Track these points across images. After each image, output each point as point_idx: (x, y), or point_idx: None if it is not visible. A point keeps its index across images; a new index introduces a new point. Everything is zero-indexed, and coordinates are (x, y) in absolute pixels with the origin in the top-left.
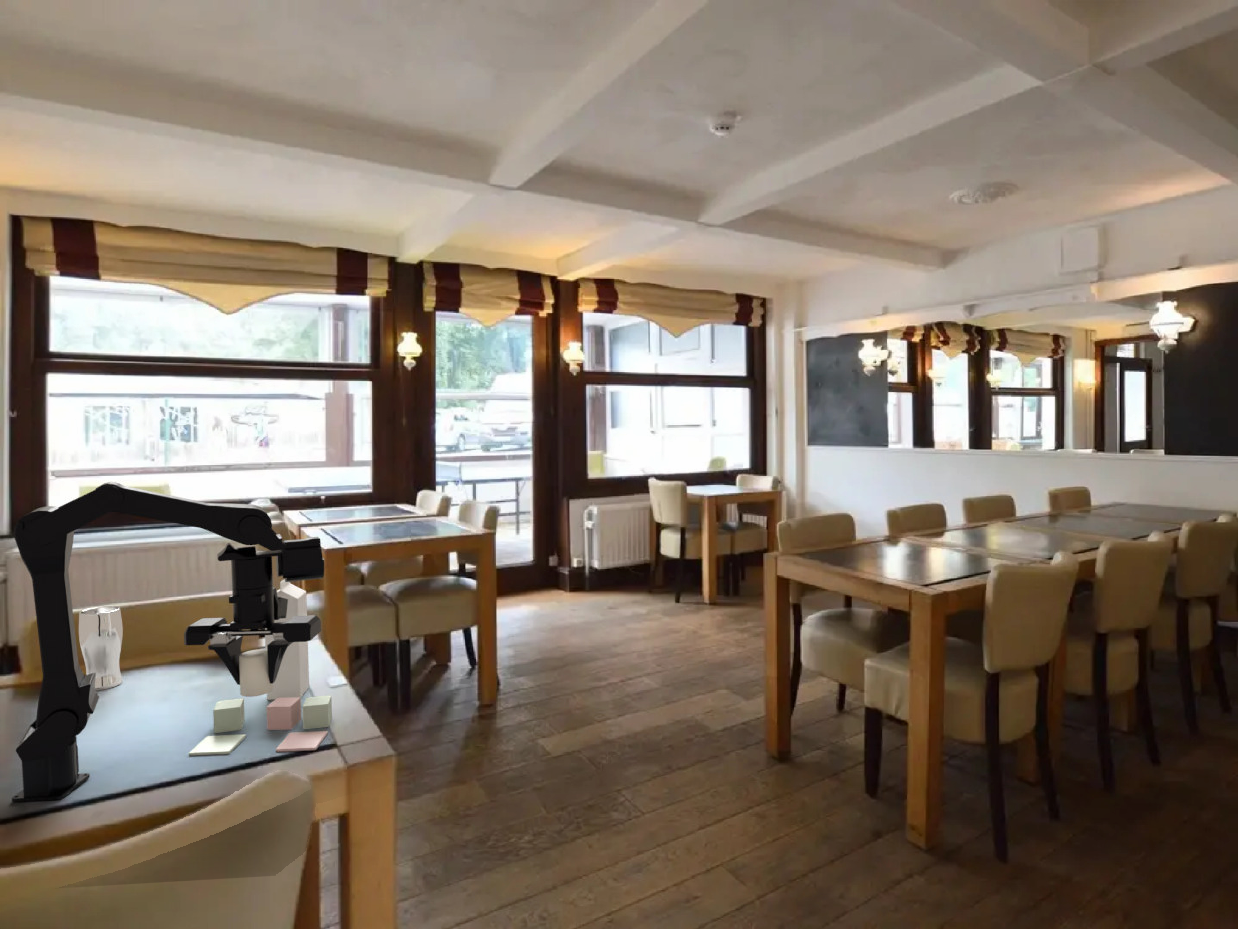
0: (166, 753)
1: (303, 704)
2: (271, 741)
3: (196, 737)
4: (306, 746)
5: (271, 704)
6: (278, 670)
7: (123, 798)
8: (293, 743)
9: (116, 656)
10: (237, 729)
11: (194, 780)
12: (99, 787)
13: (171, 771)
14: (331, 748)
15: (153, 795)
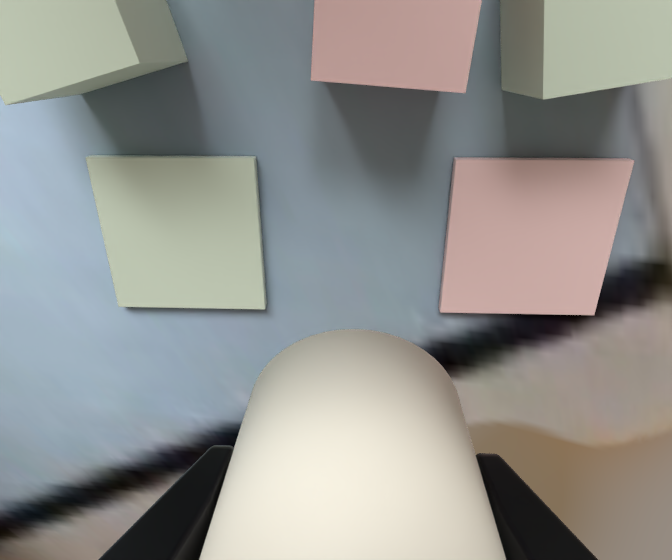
0: (23, 273)
1: (544, 64)
2: (388, 211)
3: (30, 134)
4: (556, 303)
5: (327, 39)
6: (559, 525)
7: (119, 507)
8: (498, 271)
9: None
10: (172, 65)
11: None
12: (4, 455)
13: (142, 396)
14: (650, 300)
15: None
